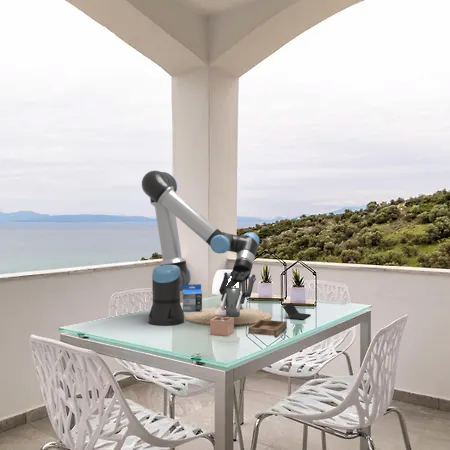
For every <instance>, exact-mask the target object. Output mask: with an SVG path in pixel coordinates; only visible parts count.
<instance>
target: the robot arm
mask: <svg viewBox="0 0 450 450" xmlns="http://www.w3.org/2000/svg"><path fill="white" fill-rule="evenodd" d="M141 188H142V191H143V193H144V194H146V196H147V197H149V199H150V204H151V205H152V206H153V207H154V210H155V216H156V217H155V218H156V225H157V230H158V237H159V242H160V249H161V251H160V252H161V257H162V261H160V264H159V265H158V266H155V267H154V268H153V269H152V275H151V278H152V280H151V282H152V305H151V308H150V311H149V315H148V323H149V324H151V325H156V326H174V325H181V324H183V323H184V322H185V314H184V313H185V312H183V306H182V305H181V292H183V290H184V289H185V288H186V287H187V286H188V285H190V282H191V278H192V277H191V272H190V270H189V268H188V267H187V260H186V258H184V257H183V256H182V251H181V249H182V248H181V242H180V236H179V229H178V223H177V222H178V221H177V219H179V220H180V222H182V223H183V224H184V225H185V226H187V228H189V229H190V230H192V231H193V232H194V233H195V234H196V235H197V236H198V237H200V239H202V240H203V241H204V242H205V243H206V244H207V245H209V246H210V248H211V250H212V251H213V252H214V253H216V254H225V253H227V252H230V253H231V252H232V253H236V254H237V255H236V258H235V262H234V265H233V268H232V270H231V271H232V272H231V271H230V272H224V273H223V279H222V282H221V283H220V287H219V290H218V291H219V293H220V295H221V298H220V300H221V305H220V308H221V310H222V311H225V310H226V309H225V306H226V289H227V288H231V286H234V285H235V284H236V283H237V282H240V283H241V293H240V296H239V299H238V302H237V305H236V310H237V312H239V310H240V311H241V309H240V307H241V304H242V305H244V304H245V301H246V298H251V296H252V292H253V287H254V284H255V281H256V280H257V277H256V275H255V274H251V272H252V269H253V265H254V262H255V259H256V255H257V252H258V249H259V245H260V237H259V235H258V234H256V233H255V232H250V231H249V232H246V233H244V234H243V235H237V234H233V233H232V234H231V233H226V232H224V231H221V230H220V229H219V228H218V227H217V226H215V225H214V224H213V223H212V222H211V221H209V220H208V219H207V218H206V216H204V215H203V214H202V213H200V212H199V211H198V210H197V209H196V208H195V207H193V206H192V205H191V204H190V203H188V201H186V200H185V199H184V198H183V197H182V196H181V195H179V194H178V193H177V190H178V183H177V180H176V178H175V177H174V176H173V175H172V174H171V173H168V172H166V171H160V170H151V171H148V172H147V173H146V174H144V176H143V177H142V180H141ZM230 276H232V278H231V281H230V282H229V283H228V279H229V278H230ZM247 280H249V282H248V285H246V281H247ZM227 283H228V285H227ZM226 285H227V286H226ZM246 286H247V288H246Z"/></svg>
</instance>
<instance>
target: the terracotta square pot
mask: <svg viewBox="0 0 450 450" xmlns="http://www.w3.org/2000/svg"><path fill="white" fill-rule="evenodd" d="M221 318H224V319H226V321H222V320H219V319H221ZM209 322H210V323H209V324H210V325H209V326H210V329H209V330H210V331H209V334H210V335H214V336H223V337H225V336H226V337H229V336H230V335H231V334H233V333H234V332H235V317H227V316H218V315H217V316H215V317H213V318H211V319H210V320H209Z"/></svg>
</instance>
